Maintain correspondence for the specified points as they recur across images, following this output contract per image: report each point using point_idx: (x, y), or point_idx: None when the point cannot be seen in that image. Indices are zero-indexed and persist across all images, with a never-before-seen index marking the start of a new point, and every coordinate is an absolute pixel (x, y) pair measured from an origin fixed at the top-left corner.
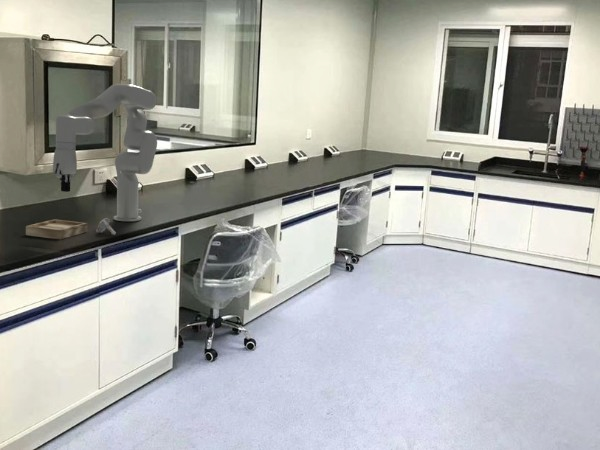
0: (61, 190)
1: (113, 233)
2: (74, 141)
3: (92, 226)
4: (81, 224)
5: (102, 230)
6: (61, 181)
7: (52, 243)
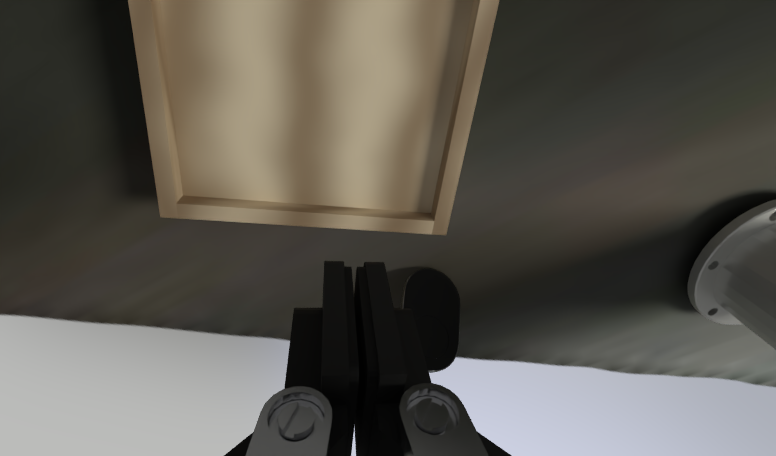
0: (324, 269)
1: None
2: None
3: (589, 163)
4: (393, 227)
5: (440, 287)
6: (281, 408)
7: (70, 208)
